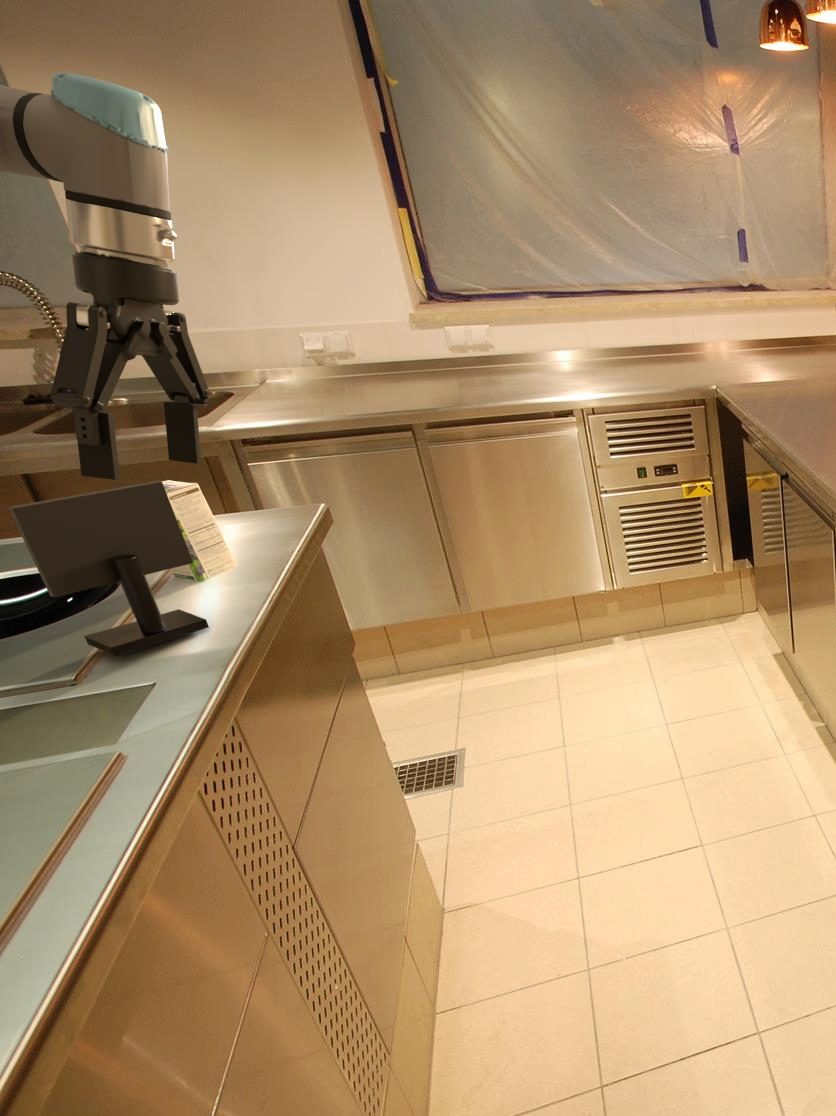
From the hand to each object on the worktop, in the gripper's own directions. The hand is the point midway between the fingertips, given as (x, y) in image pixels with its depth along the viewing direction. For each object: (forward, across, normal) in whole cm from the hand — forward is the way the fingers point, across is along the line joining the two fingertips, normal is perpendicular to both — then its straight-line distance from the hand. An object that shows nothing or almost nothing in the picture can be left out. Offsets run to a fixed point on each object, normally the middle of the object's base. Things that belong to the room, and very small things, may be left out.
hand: (146, 469), depth 90 cm
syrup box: (+24, +38, +15) cm, 47 cm away
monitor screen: (+18, +16, +12) cm, 26 cm away
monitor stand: (+25, +16, +11) cm, 32 cm away
